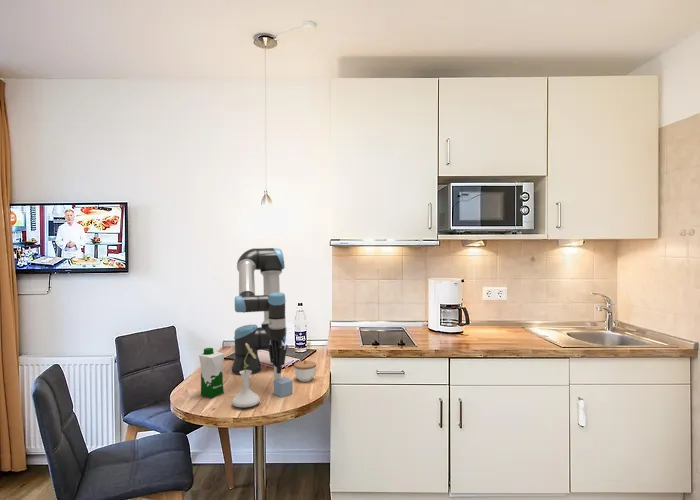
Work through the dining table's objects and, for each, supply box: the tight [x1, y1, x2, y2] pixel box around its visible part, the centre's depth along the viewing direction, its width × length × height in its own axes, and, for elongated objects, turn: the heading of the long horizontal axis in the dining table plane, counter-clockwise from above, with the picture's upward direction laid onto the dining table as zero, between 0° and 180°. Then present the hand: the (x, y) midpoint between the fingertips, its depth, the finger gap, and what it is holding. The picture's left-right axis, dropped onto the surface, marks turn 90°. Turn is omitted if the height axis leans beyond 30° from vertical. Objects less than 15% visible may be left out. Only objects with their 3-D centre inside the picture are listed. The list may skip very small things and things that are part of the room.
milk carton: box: [198, 347, 225, 399], centre depth 182 cm, size 9×9×20 cm
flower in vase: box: [231, 343, 261, 408], centre depth 171 cm, size 13×11×25 cm
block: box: [272, 376, 294, 398], centre depth 182 cm, size 6×6×6 cm
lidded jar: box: [293, 360, 317, 383], centre depth 201 cm, size 11×11×9 cm
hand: (277, 379), depth 184 cm, fingers closed
